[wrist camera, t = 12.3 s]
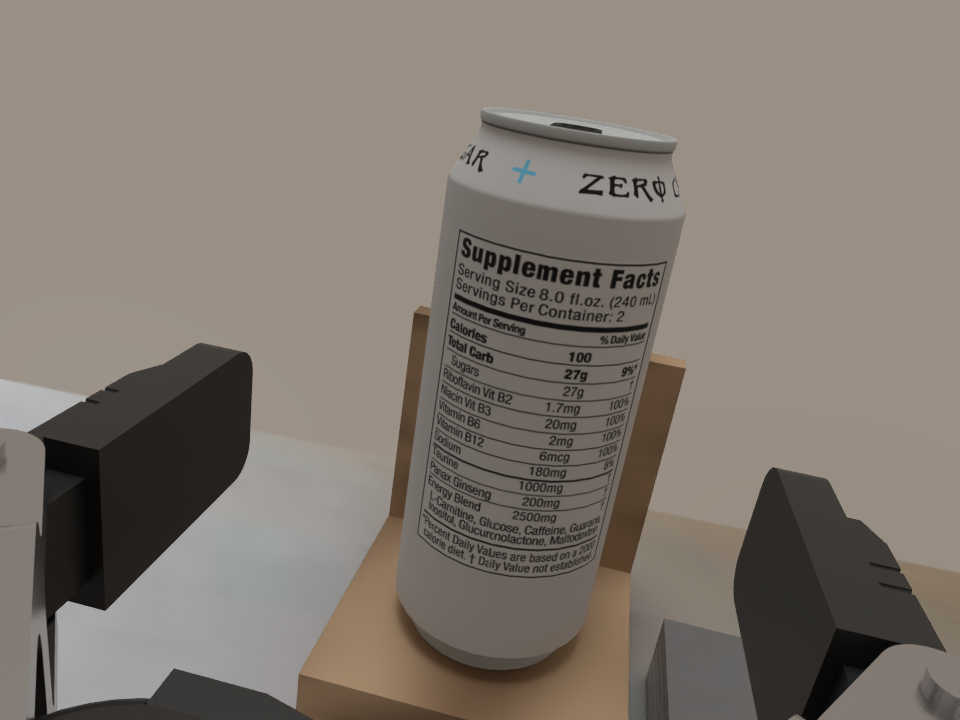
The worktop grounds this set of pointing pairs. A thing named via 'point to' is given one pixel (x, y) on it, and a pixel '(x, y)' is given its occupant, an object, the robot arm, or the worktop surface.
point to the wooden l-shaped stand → (459, 687)
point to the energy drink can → (532, 378)
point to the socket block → (698, 676)
